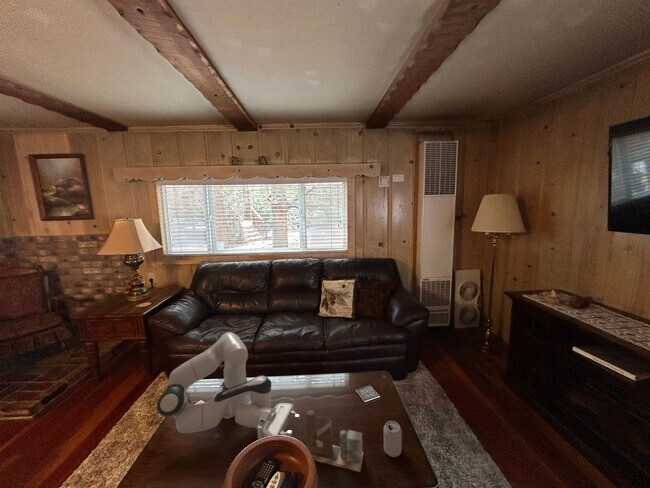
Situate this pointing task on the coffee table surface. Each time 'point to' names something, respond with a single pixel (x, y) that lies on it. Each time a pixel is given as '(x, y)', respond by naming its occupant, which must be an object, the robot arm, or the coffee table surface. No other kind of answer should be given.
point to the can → (392, 438)
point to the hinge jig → (345, 452)
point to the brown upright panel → (319, 436)
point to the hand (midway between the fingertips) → (295, 425)
